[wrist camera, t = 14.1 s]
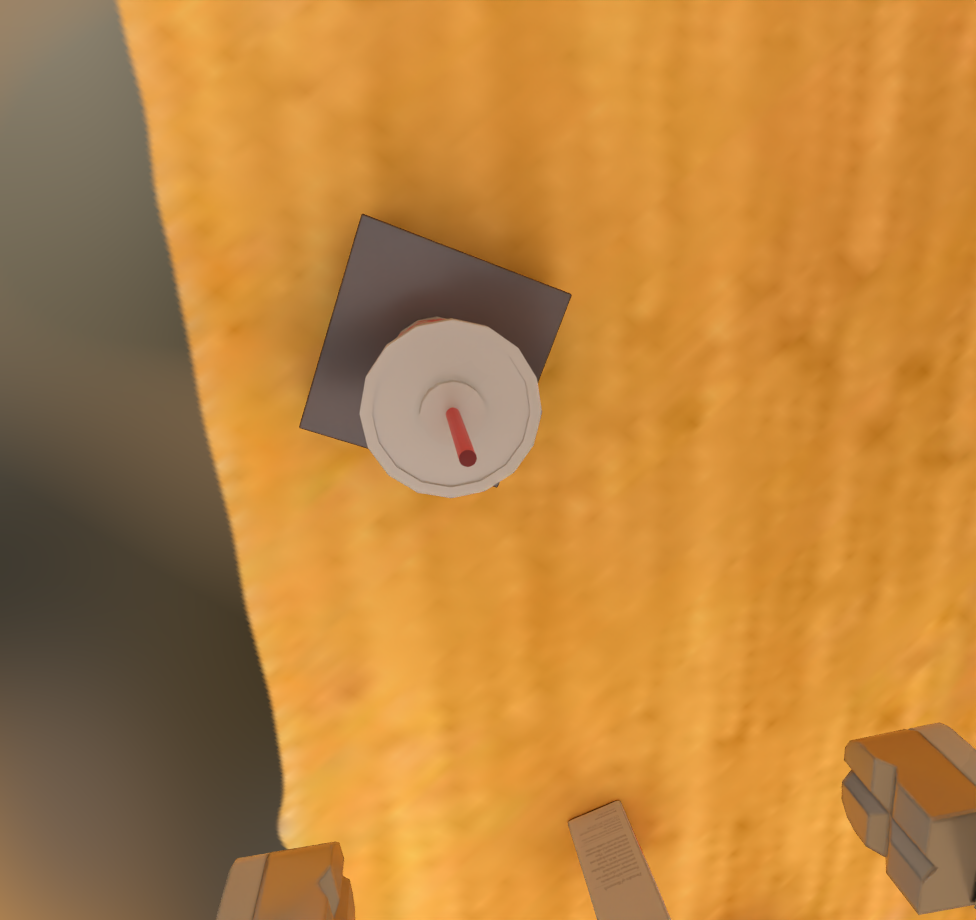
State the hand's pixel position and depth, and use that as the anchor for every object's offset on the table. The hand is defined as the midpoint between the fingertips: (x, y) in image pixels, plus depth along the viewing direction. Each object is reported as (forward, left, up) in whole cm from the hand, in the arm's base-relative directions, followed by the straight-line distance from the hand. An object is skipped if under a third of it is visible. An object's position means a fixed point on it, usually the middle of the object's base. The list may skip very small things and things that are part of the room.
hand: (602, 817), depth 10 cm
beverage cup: (-2, -3, -23) cm, 23 cm away
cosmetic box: (+22, +26, -28) cm, 44 cm away
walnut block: (-2, -3, -27) cm, 28 cm away
